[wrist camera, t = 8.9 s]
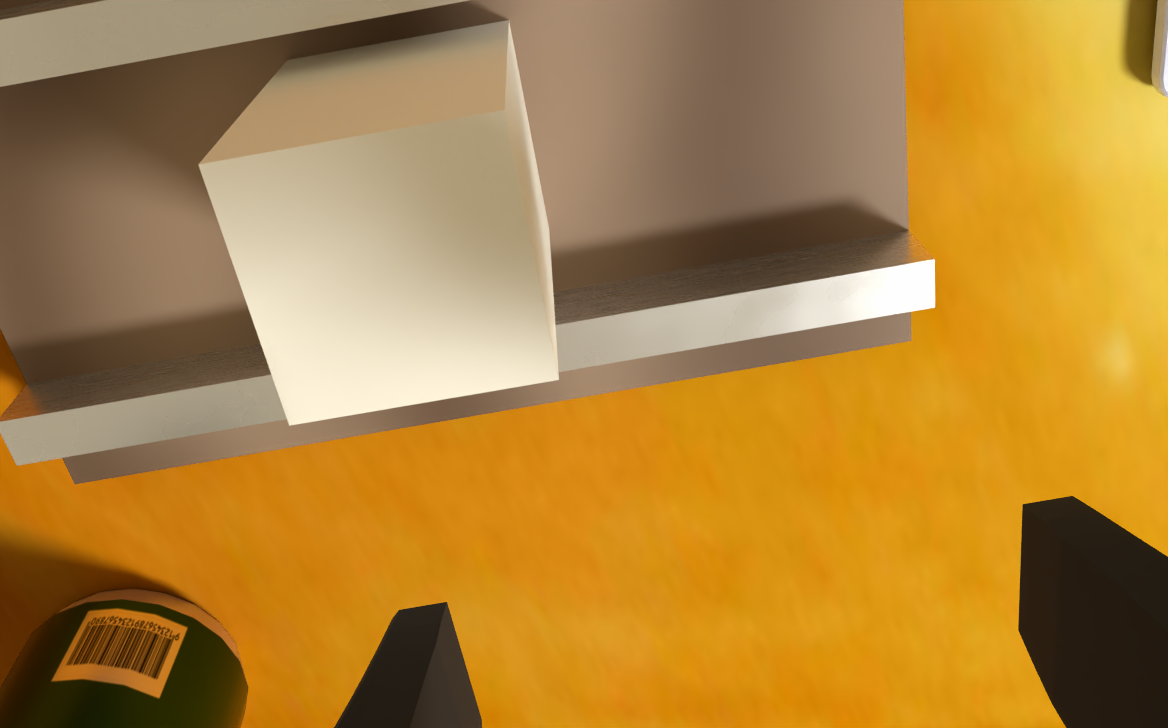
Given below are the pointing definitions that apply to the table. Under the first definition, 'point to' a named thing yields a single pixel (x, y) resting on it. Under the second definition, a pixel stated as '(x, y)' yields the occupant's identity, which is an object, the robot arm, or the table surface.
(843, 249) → the track
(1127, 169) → the table surface
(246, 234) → the cream block
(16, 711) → the beer can
